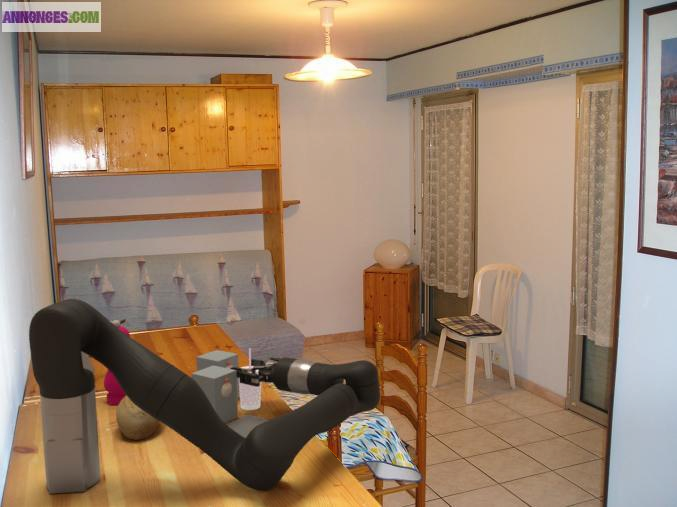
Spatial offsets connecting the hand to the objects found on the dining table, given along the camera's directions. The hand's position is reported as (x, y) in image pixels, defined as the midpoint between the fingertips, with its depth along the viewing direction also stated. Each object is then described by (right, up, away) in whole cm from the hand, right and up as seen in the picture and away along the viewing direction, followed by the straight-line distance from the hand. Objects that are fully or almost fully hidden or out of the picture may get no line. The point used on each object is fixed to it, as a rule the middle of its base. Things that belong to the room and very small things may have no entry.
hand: (240, 367), depth 164 cm
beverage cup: (+2, -9, -1) cm, 10 cm away
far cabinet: (-6, -9, +5) cm, 12 cm away
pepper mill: (-30, -9, +5) cm, 32 cm away
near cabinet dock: (0, -11, -11) cm, 15 cm away
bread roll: (-20, -11, -13) cm, 27 cm away
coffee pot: (-43, -7, +21) cm, 48 cm away
